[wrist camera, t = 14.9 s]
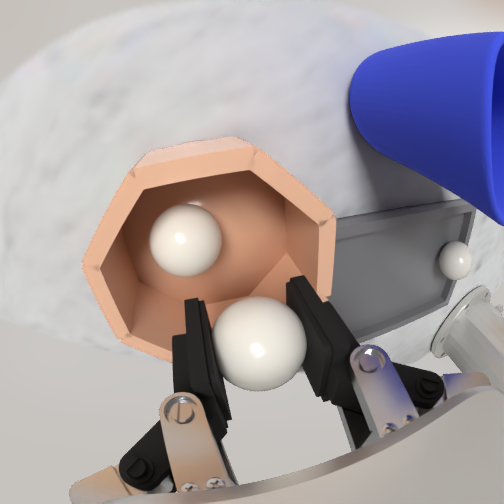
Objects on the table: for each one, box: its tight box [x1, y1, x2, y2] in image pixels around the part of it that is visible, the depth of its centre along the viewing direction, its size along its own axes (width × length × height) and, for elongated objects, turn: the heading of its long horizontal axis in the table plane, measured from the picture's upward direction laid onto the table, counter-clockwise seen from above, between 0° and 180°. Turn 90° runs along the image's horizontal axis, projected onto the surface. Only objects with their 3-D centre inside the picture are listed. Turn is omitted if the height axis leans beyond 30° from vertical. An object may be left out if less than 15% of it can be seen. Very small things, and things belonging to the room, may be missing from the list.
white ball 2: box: [211, 296, 307, 391], centre depth 10 cm, size 4×4×4 cm
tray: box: [327, 199, 477, 343], centre depth 21 cm, size 17×12×1 cm
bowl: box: [82, 136, 336, 363], centre depth 13 cm, size 11×11×5 cm
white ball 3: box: [439, 241, 473, 280], centre depth 20 cm, size 4×4×4 cm
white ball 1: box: [149, 204, 222, 278], centre depth 13 cm, size 4×4×4 cm
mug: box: [349, 32, 504, 226], centre depth 10 cm, size 8×12×10 cm
